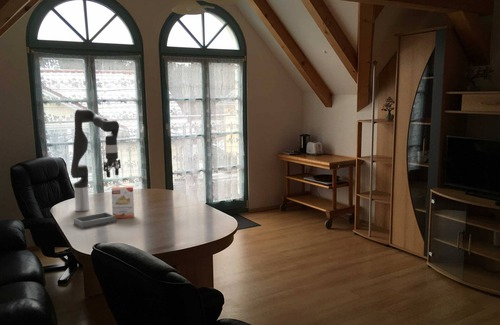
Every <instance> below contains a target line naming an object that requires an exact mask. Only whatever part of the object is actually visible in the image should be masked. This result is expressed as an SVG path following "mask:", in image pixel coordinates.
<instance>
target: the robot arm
mask: <svg viewBox="0 0 500 325" xmlns="http://www.w3.org/2000/svg"><path fill="white" fill-rule="evenodd" d="M85 123H93V125H94V126H95V127H97V128H99V129H101V130H102V131H103V132H105V133H110V134H109V135H106V136H105V139H104V140H105V150H104V151H105V160H106V161H103V171H104V172H106V178H111V170H112V168H114V175H115V176H119V175H120V174H119V171H120V169H121V166H122V165H121V159H119V152H118V150H119V149H118V139H117V138H118V135H119V130H120V124H119V122H118V121H117V120H108V119H107V118H105V117H102V116H101V115H99V114H96V113H95V112H94V111H93V110H91V109H89V108H81V109H76V110H75V112H74V135H73V136H74V138H73V148H72V150H73V152H72V159H71V165H70V167H71V168H70V175H71V178H73V179H78V181H76V182H74V183H73V188H74V203H75V204H74V205H75V211H76V212H86V211H89V210H90V201H89V200H90V199H89V168H88V166H87V165H86V164H80V161H81V159H82V158H83V157H84V156H85V154H86V153H87V151H88V147H89V140H88V137H87V135H86V134H85V132H84V130H83V124H85ZM79 178H80V179H79Z"/></svg>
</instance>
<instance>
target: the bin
mask: <svg viewBox="0 0 500 325" xmlns="http://www.w3.org/2000/svg"><path fill="white" fill-rule="evenodd" d="M72 219H73V225H75V226H77V227H78V228H79V229H83V230H84V229H88V228H93V226H94V227H98V226H103V225H107V224H113V223H116V222H117V219H116V216H114V215H113V213H109V212H99V213H94V214H88V215H83V216H79V217H78V216H77V217H73V218H72Z"/></svg>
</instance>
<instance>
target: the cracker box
mask: <svg viewBox="0 0 500 325" xmlns="http://www.w3.org/2000/svg"><path fill="white" fill-rule="evenodd" d="M134 199H135V198H134V186H114V187H113V186H112V187H111V208H112V211H111V212H112V215H114V216H116V220H117V219H129V218H130V219H131V218H132V219H133V218H135V202H134Z"/></svg>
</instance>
